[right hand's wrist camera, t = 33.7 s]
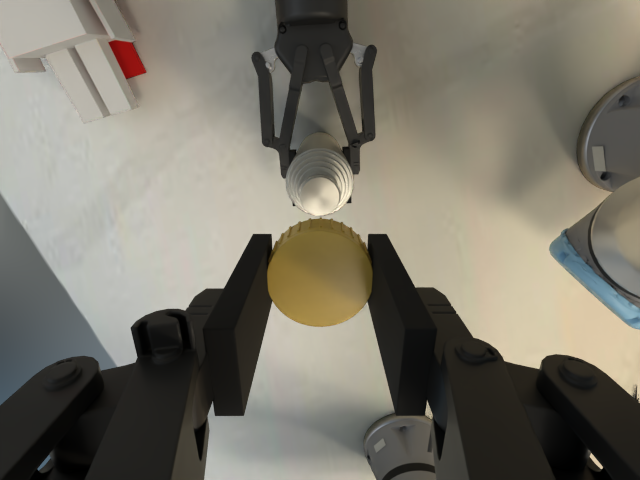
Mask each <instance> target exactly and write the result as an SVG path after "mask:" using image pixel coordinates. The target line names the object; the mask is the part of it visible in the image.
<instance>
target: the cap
mask: <svg viewBox="0 0 640 480" xmlns="http://www.w3.org/2000/svg"><path fill="white" fill-rule="evenodd" d="M268 262H269V266H268V269H267V281H268V292H269V295H270V297H271V299H272V301H273V302H274V304H275V305H276V307H277V308H278V309H279V310H280V311H281V312H282V313H283V314H284V315H286V316H287V317H289V318H290V319H292V320H294V321H296V322H298V323H301V324H304V325H308V326H316V327H324V326H331V325H336V324H339V323H342V322H344V321H346V320H348V319H350V318H351V317H353V316H354V315H356V314H357V313H358V312H359V311H360V310H361V309H362V308H363V307H364V305H365V304H366V302H367V301H368V299H369V297H370V295H371V292H372V277H373V269H372V265H371V264H372V261H371V258H370V255H369V252H368V250H367V247H366V244H365V242H362V240H361V238H360V235H359V234H358V235H357V234H356V233H355V232H354V231H353V230H352V228H351V227H350V228H349V227H347V226H346V225H344V224H343V222H341V223H339V222H337V221H333V219H331V220H328V219H322V218H320V219H311V218H310V219H309V220H307V221H303V222H298V224H296V225H294V226H293V227H291V226H290V227H289V229H288V230H287V231H286V232H285V233H282V234H281V237H280V239H279V240H278V241H276V242H275V245H274V248H273V250H272V252H271V255H270V257H269V260H268Z"/></svg>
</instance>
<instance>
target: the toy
mask: <svg viewBox="0 0 640 480" xmlns="http://www.w3.org/2000/svg"><path fill="white" fill-rule="evenodd" d="M134 41H136V40H135V38H134V36H133V34H132V33H131V31H130V29H129V27H128V25H127V23H126V22H125V20H124V18H123V16H122V14H121V12H120V10H119V9H118V7H117V5H116V3H115V1H114V0H0V46H1V47H2V49H3V51H4V53H5V55H6V57H7V59H8V61H9V63H10V64H11V66H12V68H13V70H14V72H15V73H28V72H45V71H46V70H45V68H44V66H43V64H42V62H41V60H40V58H46V59H47V61H48V62H49V64H50V66H51V68H52V69H53V71H54V73H55V75H56V76H57V78H58V80H59V82H60V83H61V85H62V87H63V88H64V90H65V92H66V94H67V95H68V97H69V99H70V101H71V102H72V104H73V106H74V108H75V109H76V111H77V113H78V115H79V116H80V118H81V120H82V121H83V123H87V122H90V121H94V120H97V119H101V118H104V117H107V116H110V115H114V114H118V113H121V112H124V111H128V110H131V109H134V108H137V107H139V105H138V103H137V101H136V99H135V97H134V95H133V93H132V91H131V88H130V86H129V84H128V82H127V80H126V79H128V78H131V77H134V76H137V75H140V74H143V73H146V70H145V68H144V66H143V64H142V62H141V60H140V58H139V56H138V54H137V52H136V50H135V48H134V46H133V44H132V42H134Z"/></svg>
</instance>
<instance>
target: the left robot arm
mask: <svg viewBox="0 0 640 480" xmlns="http://www.w3.org/2000/svg"><path fill="white" fill-rule="evenodd" d="M275 5H276V16H277V28H278V35H277V39H276V42H275V45H274V48H271V49H269V50H267V51H264V52H262V53H259V52H254V53H253V54H252V61H253V64H254V67H255V69H256V72H257V74H258V80H259V97H260V114H261V131H262V143H263V145H264V146H265V147H270V148H274V149H276V150H277V151H278V152H279V157H280V167H281V175H282V177H283V178H286V175H287V171H288V169H289V167H290V165H291V163H292V161H293V159H294V157H295V155H296V150H290V143H291V138H292V133H293V128H294V124H295V119H296V114H297V109H298V104H299V99H300V95H301V91H302V86H303V83H311V82H313V81H319V82H329V85H330V88H331V91H332V94H333V97H334V100H335V103H336V106H337V109H338V112H339V115H340V118H341V122H342V125H343V128H344V131H345V134H346V137H347V140H348V147H342V152H343V154H344V156H345V158H346V160H347V162H348V163H349V165H350V167H351V170H352V173H353V175H354V174H358V173H359V171H360V147H361V145H362V144H364V143H366V142H369V141H372V140H374V138H375V118H374V98H373V78H372V68H373V64H374V61H375V57H376V53H377V49H376V47H375V46H374V45H369V46H364V45H360V44H357V43H353V40H352V37H351V36H350V34H349V31H348V13H347V0H275ZM349 54H352V55H353V56H354V63H355V65H356V66H357V67H359V86H360V102H361V118H362V132H360V133H358V134H357V130H356V127H355V124H354V121H353V118H352V114H351V111H350V108H349V105H348V102H347V98H346V95H345V92H344V89H343V85H342V81H341V78H340V75H339V71H340V69H341V67H342V66H343V64H344V62H345V61H346V59H347V57H348V56H349ZM278 58H279V59H280V60H281V62H282V63H283V64H284V66H285V67H286V68H287V69H288V71H289V72H290V73H291V80H290V85H289V92H288V97H287V102H286V108H285V113H284V118H283V123H282V128H281V133H280V138H278V137H275V129H274V107H273V85H272V76H271V73H272V72H273V71H274V70H275V61H276V59H278ZM577 159H578V164H579V167H580V169H581V171H582V173H583V175H584V176H585V178H586V179H587V180H588V181H589V182H591V183H592V184H593V185H595V186H596V187H599V188H601V189H604V190H607V191H611V192H613V193H612V194H611V195H609V196H608V197H607V198H606V199H605V200H604V201H603V202H602V203H601V204H599V205H598V206H597V207H596V208H595V209H594V210H593V211H591V212H590V213H589V214H587V215H586V216H585V217H584V218H582V219H581V220H580V221H578V222H577V223H576V224H574V225H573V226H572V227H570V228H567V229H565V230H563V231H562V232H561V235H560V236H559V237H558V238H556V239H555V240H554V241H553V242H552V243H551V245H550V247H549V250H550V254H551V255H552V256H553V257H554V258H555V260H556V261H557V262H558V263H559V264H560V265H561V266H563V267H564V268H565V269H566V270H567V271H568V272H569V273H570V274H571V275H572V276H573V277H574V278H575V279H576V280H577V281H578V282H580V283H581V284H582V285H583V286H584V287H585V288H586V289H587V290H588V291H589V292H590V293H592V294H593V295H594V296H595V297H596V298H597V299H598V300H599V301H600V302H602V303H603V304H604V305H605V306H606V307H607V308H608V309H609V310H611V311H612V312H613V313H614V314H615V315H616V316H618V317H619V318H620V319H621V320H622V321H623V322H625V323H626V324H627V325H629V326H630V327H632V328H635V329H640V76H639V77H636V78H633V79H630V80H628V81H626V82H624V83H622V84H620V85H618V86H617V87H615V88H614V89H612V90H611V91H609V92H608V93H607V94H606V95H605V96H604V97H603V98H602V99H601V100H600V101H599V102H598V103H597V104H596V105H595V106H594V108H593V109H592V110H591V112H590V113H589V115H588V116H587V118H586V120H585V122H584V124H583V126H582V128H581V131H580V134H579V138H578V143H577ZM347 203H351V196H350V198H349V200H348V201H347ZM293 206H296V205H295V204H294V203H293Z"/></svg>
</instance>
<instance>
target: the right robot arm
mask: <svg viewBox="0 0 640 480" xmlns="http://www.w3.org/2000/svg"><path fill="white" fill-rule="evenodd" d="M367 250H368V252H369V255H370V258H371V261H372V264H371V265H372V269H373V277H372V292H371V295H370V297H369V299H368V305H369V309H370V313H371V317H372V321H373V325H374V329H375V333H376V337H377V341H378V345H379V349H380V353H381V357H382V361H383V366H384V370H385V374H386V378H387V382H388V386H389V390H390V394H391V398H392V402H393V406H394V410H395V414H392V415H389V416H386V417H384V418H382V419H380V420H378V421H377V422H375V423H374V424H373V425H372V426H371V427H370V428H369V429H368V431H367V433H366V435H365V438H364V450H365V456H366V459H367V461H368V463H369V465H370V467H371V469H372V471H373V473H374V475H375V477H376V479H377V480H640V403H639V402H638V401H636V400H635V399H634V398H633V397H632V396H631V395H630V394H628V393H627V392H626V391H625V390H624V389H623V388H622V387H621V386H619V385H618V384H617V383H616V382H615V381H614V380H613V379H611V378H610V377H609V376H608V375H607V374H606V373H604V372H603V371H601V370H600V369H599V368H597V367H596V366H594V365H592V364H590V363H588V362H586V361H584V360H582V359H579V358H575V357H572V356H568V355H557V354H555V355H550V356H546V357H545V358H544V359H543V360H542V362H541V366H540V369H536V368H531V367H526V366H521V365H517V364H513V363H509V362H505V361H504V360H503V357H502V356H501V354H500V353H499V352H498V350H497V349H495V348H494V347H493V346H491V345H490V344H488V343H486V342H484V341H482V340H479V339H476V338H473V336H472V335H471V333H470V332H469V330H468V329H467V327H466V326H465V324H464V323H463V321H462V320H461V318H460V317H459V316H458V314H456V311H455V310H454V308H453V307H452V306H451V304H450V302H449V301H448V299H447V298H446V296H445V295H444V294H442V293H441V292H439V291H438V290H436V289H435V288H415V286H414V284H413V283H412V281H411V279H410V277H409V275H408V273H407V271H406V269H405V268H404V266H403V264H402V262H401V260H400V258H399V256H398V255H397V253H396V251H395V249H394V247H393V245H392V243H391V242H390V240H389V238H388V236H387V234H368V249H367ZM271 252H272V235H271V234H253V235H252V237H251V239H250V241H249V243H248V245H247V247H246V249H245V250H244V252H243V254H242V256H241V258H240V260H239V262H238V263H237V265H236V267H235V269H234V271H233V273H232V275H231V276H230V278H229V280H228V282H227V284H226V286H225V288H224V289H205V290H204V291H202V292H201V293H199V294H198V295H196V296H195V297H194V299H193V300H192V302H191V303H190V305H189V307H188V308H187V309H186V311H184V310H181V309H165V310H160V311H156V312H153V313H150V314H148V315H145V316H144V317H142V318H141V319H139V320H137V321H136V322H135V323H134V325H133V326H132V327H131V331H132V336H133V340H134V344H135V348H136V353H137V357H138V358H137V360H136V362H135V363H133V364H129V365H125V366H121V367H116V368H111V369H107V370H102V371H101V370H100V367H99V363H98V361H96V360H95V359H94V358H92V357H87V356H78V357H71V358H67V359H63V360H60V361H58V362H56V363H54V364H52V365H49V366H47V367H45V368H44V369H43V370H41V371H40V372H38V373H37V374H36V375H34V376H33V377H32V378H31V379H30V380H29V381H27V382H26V383H25V384H24V385H23V386H22V387H21V388H20V389H18V390H17V391H16V392H15V393H14V394H13V395H12V396H10V397H9V398H8V399H7V400H6V401H5V402H4V403H3V404H1V405H0V480H204V475H205V466H206V457H207V448H208V439H209V424H208V417H207V415H208V412H209V410H210V407H211V404H212V401H213V405H214V412H215V416H244V413H245V409H246V405H247V401H248V397H249V393H250V389H251V385H252V381H253V377H254V373H255V369H256V365H257V361H258V357H259V353H260V348H261V344H262V340H263V336H264V332H265V328H266V324H267V320H268V316H269V312H270V308H271V304H272V299H271V297H270V295H269V292H268V281H267V269H268V266H269V262H268V260H269V257H270V255H271ZM427 400H428V403H429V406H430V409H431V411H432V414H433V417H432V420H430V419H429V418H427V417H425V410H426V404H427ZM591 453H592V454H593V455H594V456H595V458H596V459H597V460H598V461H599V462H600V464H601V465H602V466H603V469H600V468H599V467H598V466H597V465H596V464H595V463H594V462H593V461H592V459H591V458H590V457H589V456H590V454H591ZM48 455H50V457H51V459H50V460H49V461H48V462H47V464H46V465H45V466H44V467H43V468H41V469H40V470H39V471H38V470H37V468H38V467H39V466H40V465H41V463H42V462H43V461H44V460H45V459H46V457H47V456H48Z"/></svg>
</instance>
